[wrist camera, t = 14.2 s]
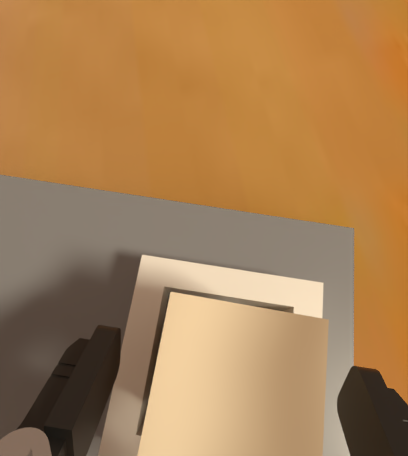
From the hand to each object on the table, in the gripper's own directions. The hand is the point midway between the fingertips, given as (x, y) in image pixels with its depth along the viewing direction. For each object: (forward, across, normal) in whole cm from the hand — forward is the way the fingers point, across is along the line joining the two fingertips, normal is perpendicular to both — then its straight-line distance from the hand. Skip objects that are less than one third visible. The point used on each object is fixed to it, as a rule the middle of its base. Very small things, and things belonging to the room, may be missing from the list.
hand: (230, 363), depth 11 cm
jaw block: (+4, 0, +5) cm, 7 cm away
